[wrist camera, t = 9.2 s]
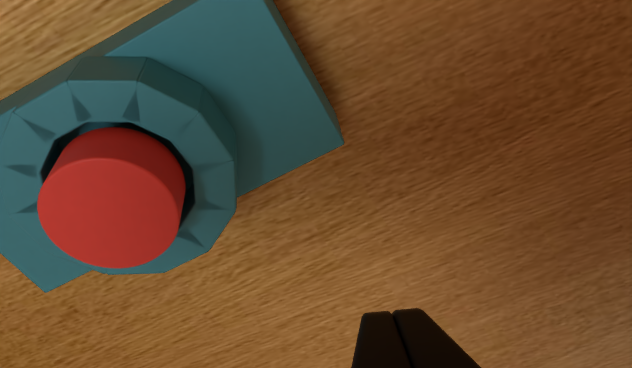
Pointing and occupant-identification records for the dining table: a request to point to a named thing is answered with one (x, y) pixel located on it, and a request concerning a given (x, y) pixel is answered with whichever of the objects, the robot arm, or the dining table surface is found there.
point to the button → (113, 198)
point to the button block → (168, 122)
